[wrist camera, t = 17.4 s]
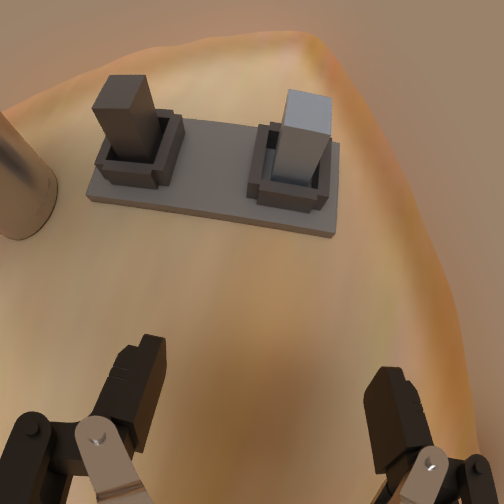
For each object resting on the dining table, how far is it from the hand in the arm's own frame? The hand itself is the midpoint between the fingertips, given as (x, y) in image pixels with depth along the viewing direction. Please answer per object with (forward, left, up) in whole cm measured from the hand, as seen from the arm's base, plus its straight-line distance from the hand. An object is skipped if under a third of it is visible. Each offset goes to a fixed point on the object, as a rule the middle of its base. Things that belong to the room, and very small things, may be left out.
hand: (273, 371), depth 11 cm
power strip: (-6, +16, -16) cm, 24 cm away
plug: (+1, +16, -15) cm, 22 cm away
